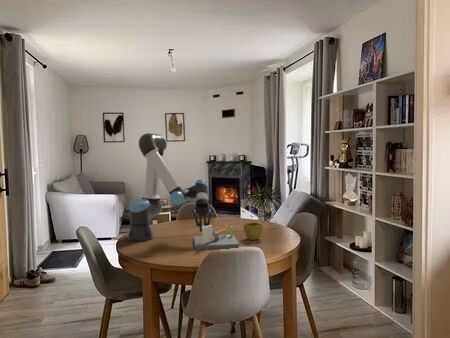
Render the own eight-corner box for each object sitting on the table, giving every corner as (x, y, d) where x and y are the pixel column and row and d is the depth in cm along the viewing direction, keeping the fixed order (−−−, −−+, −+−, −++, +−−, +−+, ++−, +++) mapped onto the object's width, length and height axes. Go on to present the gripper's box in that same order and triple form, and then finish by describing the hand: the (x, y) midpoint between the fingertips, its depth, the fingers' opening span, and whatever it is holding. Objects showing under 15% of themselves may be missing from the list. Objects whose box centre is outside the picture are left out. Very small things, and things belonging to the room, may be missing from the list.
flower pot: (250, 241, 209) (250, 226, 208) (243, 238, 217) (242, 223, 216) (263, 239, 213) (263, 224, 212) (255, 236, 221) (255, 222, 220)
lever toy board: (194, 249, 194) (194, 234, 194) (194, 239, 216) (194, 226, 216) (238, 247, 196) (238, 233, 196) (233, 237, 218) (233, 224, 218)
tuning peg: (206, 244, 195) (206, 227, 195) (201, 243, 198) (200, 226, 197) (228, 235, 214) (228, 220, 213) (223, 234, 216) (223, 220, 215)
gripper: (212, 205, 218) (214, 239, 203) (191, 205, 217) (191, 240, 202) (213, 197, 213) (215, 232, 197) (191, 198, 212) (191, 233, 196)
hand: (203, 236), depth 199 cm, fingers closed
